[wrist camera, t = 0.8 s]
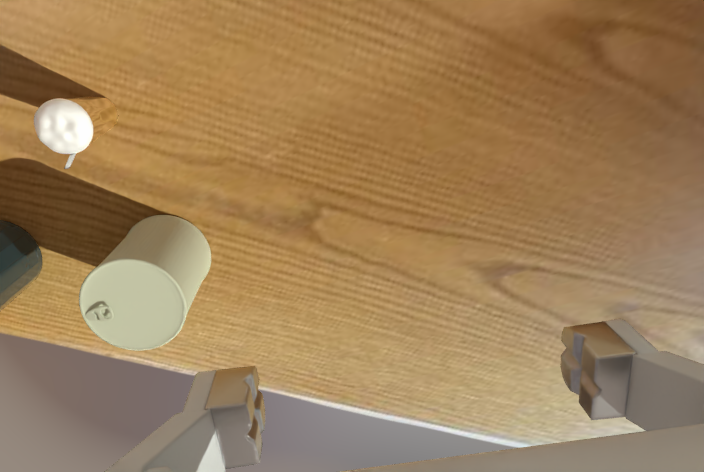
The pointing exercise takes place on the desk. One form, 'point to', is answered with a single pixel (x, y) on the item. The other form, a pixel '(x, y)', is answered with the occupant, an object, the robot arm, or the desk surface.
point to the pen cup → (17, 261)
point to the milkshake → (74, 123)
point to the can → (146, 284)
